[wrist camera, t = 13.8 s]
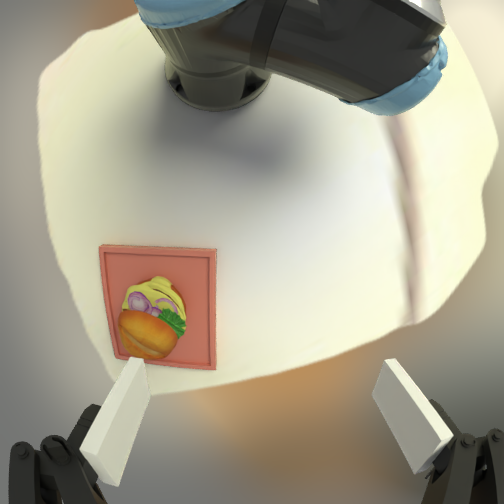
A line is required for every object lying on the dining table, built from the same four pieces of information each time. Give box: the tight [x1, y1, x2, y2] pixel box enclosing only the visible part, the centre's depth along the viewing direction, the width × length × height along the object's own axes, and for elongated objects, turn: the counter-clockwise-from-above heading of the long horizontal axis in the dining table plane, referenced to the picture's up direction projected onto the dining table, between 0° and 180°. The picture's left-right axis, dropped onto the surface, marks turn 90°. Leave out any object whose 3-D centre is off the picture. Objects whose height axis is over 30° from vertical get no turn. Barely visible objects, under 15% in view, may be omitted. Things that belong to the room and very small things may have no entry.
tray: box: [99, 245, 217, 370], centre depth 40 cm, size 20×18×2 cm
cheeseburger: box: [117, 276, 186, 360], centre depth 36 cm, size 10×11×10 cm
